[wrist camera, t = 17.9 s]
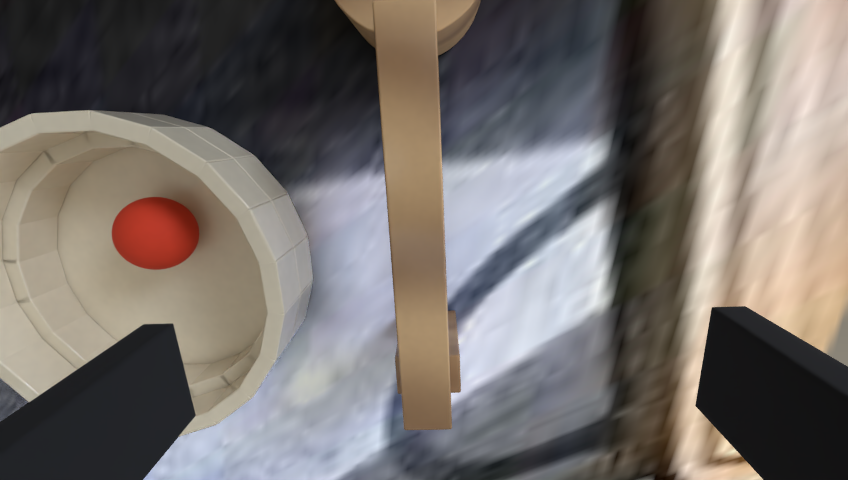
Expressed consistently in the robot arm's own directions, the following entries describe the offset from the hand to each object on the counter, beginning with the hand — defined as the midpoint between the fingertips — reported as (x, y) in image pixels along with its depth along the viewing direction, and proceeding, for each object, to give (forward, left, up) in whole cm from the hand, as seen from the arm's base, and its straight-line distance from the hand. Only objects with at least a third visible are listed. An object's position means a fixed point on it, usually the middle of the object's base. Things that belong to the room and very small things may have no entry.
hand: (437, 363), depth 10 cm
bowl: (+1, -15, -12) cm, 19 cm away
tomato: (-1, -14, -10) cm, 17 cm away
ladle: (-5, -1, -12) cm, 13 cm away
